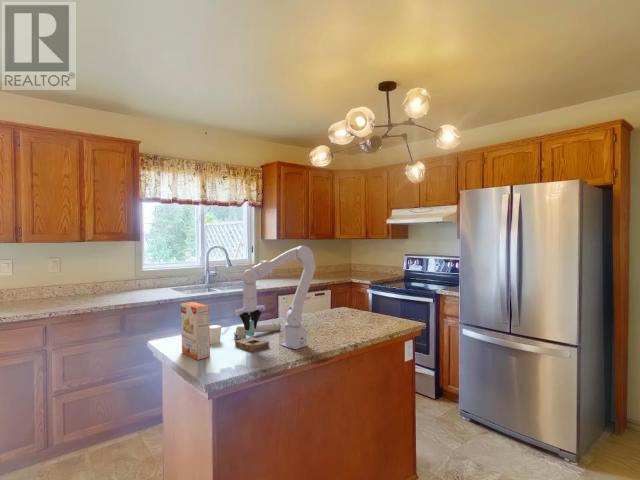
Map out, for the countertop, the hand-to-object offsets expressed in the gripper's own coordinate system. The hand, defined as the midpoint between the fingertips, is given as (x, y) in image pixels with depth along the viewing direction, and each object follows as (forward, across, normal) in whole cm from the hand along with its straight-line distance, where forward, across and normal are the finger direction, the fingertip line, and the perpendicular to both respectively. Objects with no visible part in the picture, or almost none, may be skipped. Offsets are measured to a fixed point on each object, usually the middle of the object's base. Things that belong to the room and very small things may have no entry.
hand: (250, 329), depth 159 cm
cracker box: (+8, +20, -10) cm, 24 cm away
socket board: (+8, -2, -1) cm, 9 cm away
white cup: (+8, +5, -21) cm, 23 cm away
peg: (+2, 0, 0) cm, 2 cm away
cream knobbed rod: (+9, -16, -15) cm, 23 cm away
